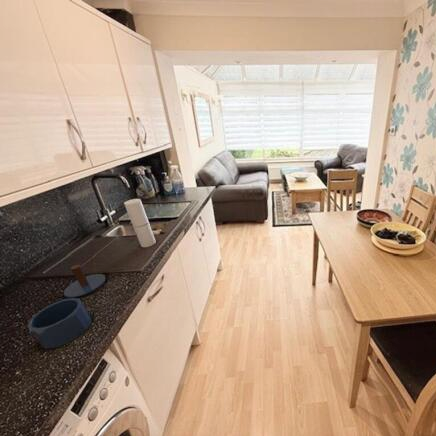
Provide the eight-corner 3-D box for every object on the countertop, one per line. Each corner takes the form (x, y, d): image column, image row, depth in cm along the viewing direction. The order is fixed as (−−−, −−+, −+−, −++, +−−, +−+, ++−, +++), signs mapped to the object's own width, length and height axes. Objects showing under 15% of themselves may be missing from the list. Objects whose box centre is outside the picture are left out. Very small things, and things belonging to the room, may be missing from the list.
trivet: (65, 303, 91) (64, 302, 91) (71, 285, 100) (70, 284, 100) (102, 290, 96) (102, 289, 96) (105, 274, 106) (105, 273, 105)
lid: (61, 304, 90) (47, 283, 85) (69, 284, 100) (57, 264, 96) (104, 289, 96) (93, 269, 91) (107, 272, 106) (98, 253, 102)
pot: (36, 357, 71) (20, 337, 67) (48, 327, 81) (35, 309, 77) (88, 336, 76) (76, 316, 73) (94, 310, 86) (83, 293, 83)
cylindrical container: (139, 249, 124) (121, 205, 113) (144, 242, 130) (127, 199, 120) (153, 246, 125) (137, 202, 114) (157, 240, 132) (142, 198, 121)
